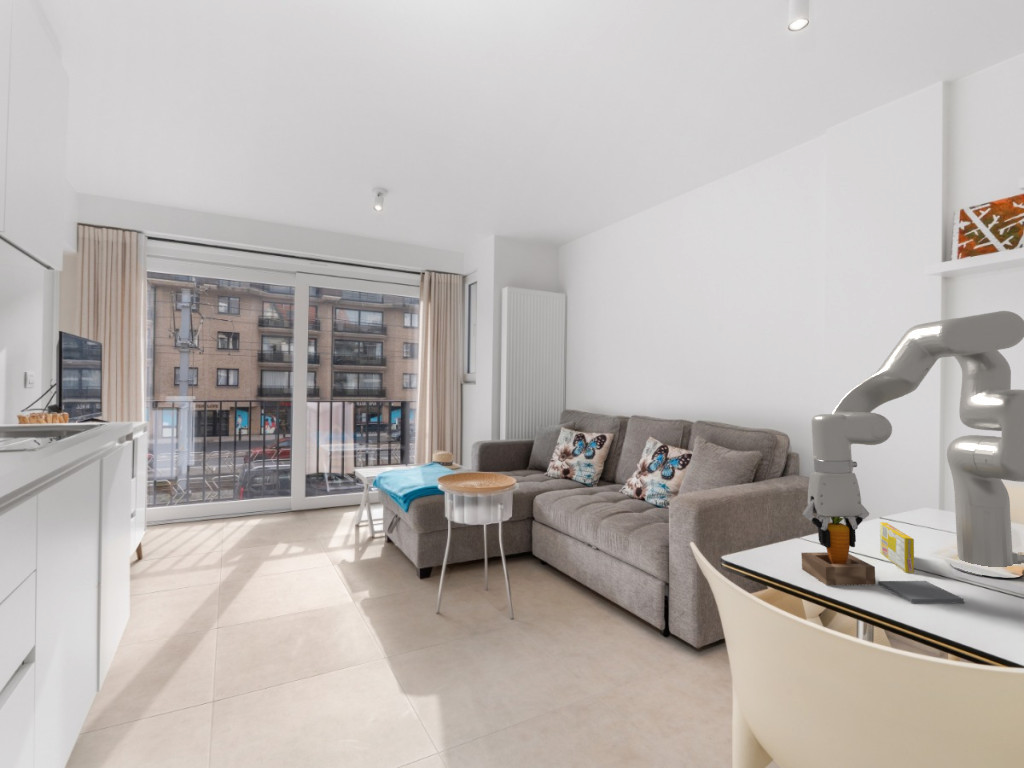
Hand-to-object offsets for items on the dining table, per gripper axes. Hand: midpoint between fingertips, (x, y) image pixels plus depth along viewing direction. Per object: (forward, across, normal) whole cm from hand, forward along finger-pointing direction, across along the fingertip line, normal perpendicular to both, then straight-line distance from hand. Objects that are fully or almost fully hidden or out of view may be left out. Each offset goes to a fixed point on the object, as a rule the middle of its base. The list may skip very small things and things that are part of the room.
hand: (837, 544), depth 117 cm
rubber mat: (+7, -10, +10) cm, 16 cm away
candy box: (+8, -20, -10) cm, 23 cm away
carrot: (+7, 0, 0) cm, 7 cm away
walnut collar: (+7, 0, 0) cm, 7 cm away
